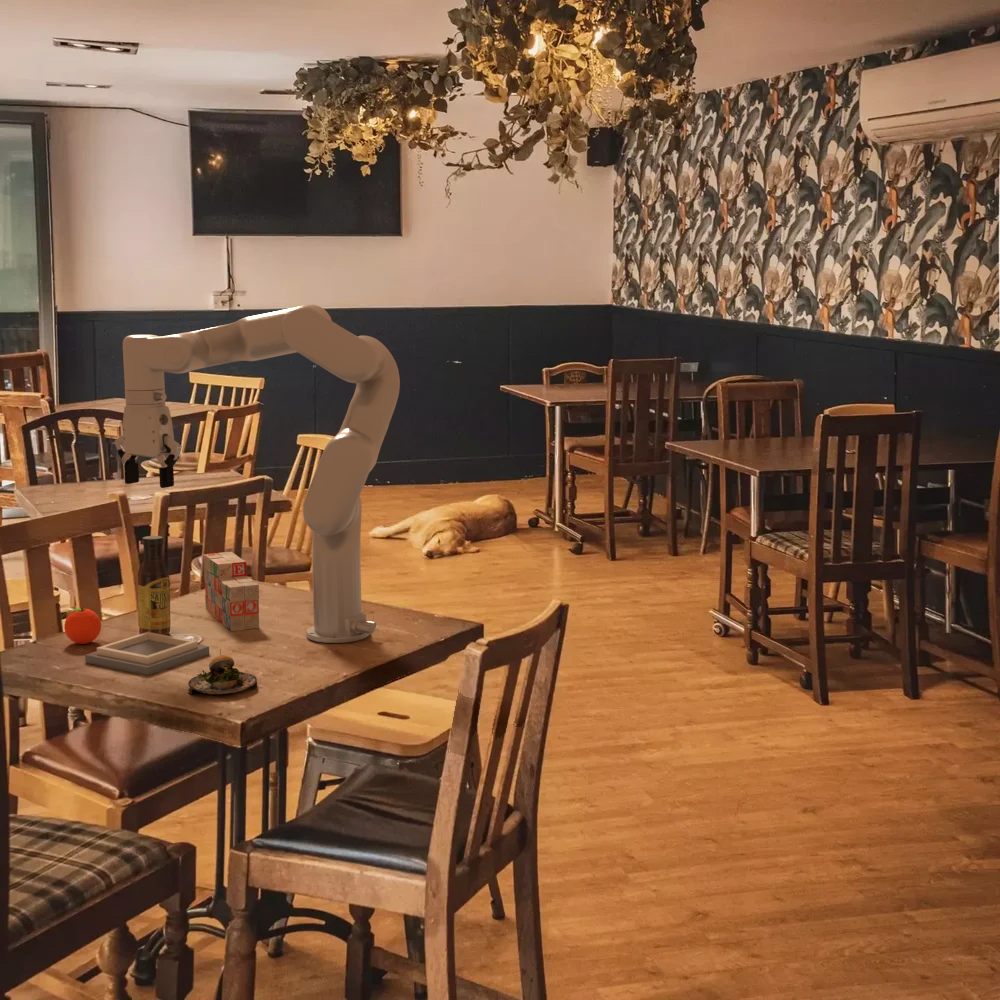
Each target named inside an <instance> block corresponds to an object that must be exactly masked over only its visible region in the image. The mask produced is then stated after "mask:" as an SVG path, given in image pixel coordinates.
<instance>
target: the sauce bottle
mask: <svg viewBox="0 0 1000 1000" xmlns="http://www.w3.org/2000/svg"><path fill="white" fill-rule="evenodd" d="M141 539H142V541H141V542H142V546H143V557H142V558H143V561H142V563H141V565H140V566H139V569H138V570H137V571H138V572H137V614H138V615H137V616H138V617H137V618H138V619H137V620H138V621H137V622H138V628H139V629H138V630H139V631H138V633H139V634H143V633H146V632H151V633H156V634H161V635H167V636H168V635H169V634H170V632H171V581H170V580H171V579H170V578H171V577H170V575H169V572H168V570H167V566H166V564H165V561H164V560H165V559H164V555H163V553H164V552H163V551H164V550H163V549H164V548H163V547H164V544H165V542H164V537H163V536H160V535H149V536H148V535H147V536H143V537H142V538H141ZM139 634H138V635H139Z"/></svg>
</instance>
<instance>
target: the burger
mask: <svg viewBox="0 0 1000 1000" xmlns="http://www.w3.org/2000/svg"><path fill="white" fill-rule="evenodd" d="M219 653H220V654H219V655H217V656H215V657H213V658H212V659H211V661H210V662H209V665H208V667H209V671H208V672H207V671H205V670H203V669H202V673H197V674H196V676H193V677H191V678H190V679H189V680H188V683H187V684H188V687H189V688H188V690H187V693H188V694H189V695H190V696H192V694H193V690H194V691H195V692H199V693H202V694H207V695H226V694H227V695H228V694H235V693H238V692H242V691H244V690H247V689H249V688H250V687H253V686H254V689H256V690H257V689H258V679H257V677H256V676H255V675H254V674H250V673H247V672H243V671H239V669H238V668H236V667H234V666H235V660H234V659H233V657H232V656H229V655H227V654H222V653H221V650H219Z"/></svg>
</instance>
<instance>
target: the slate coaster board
mask: <svg viewBox="0 0 1000 1000" xmlns="http://www.w3.org/2000/svg"><path fill="white" fill-rule="evenodd" d="M198 643H199V642H198V640H193V639H187V638H183V637H177V636H173V635H172V636H171V635H168V634H167V635H161V634H156V633H151V632H146V633H143V634H136V635H134V636H130V637H126V638H124V639H120V640H117V641H114V642H111V643H107V644H105V645H102V646H98V647H96V651H93V652H89V653H86V654H85V655H84V660H85V662H86V664H90V665H91V664H92V665H96V666H99V667H100V666H101V667H105V668H110V669H115V670H119V671H125V672H129V673H132V674H133V673H134V674H138V675H143V676H150V675H153V674H156V673H159V672H162V671H165V670H168V669H171V668H174V667H176V666H180V665H182V664H186V663H189V662H191V661H194V660H196V659H200V658H202V657H204V656H207V655H210V646H209V645H204V644H198ZM85 662H84V663H85Z"/></svg>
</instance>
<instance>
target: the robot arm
mask: <svg viewBox="0 0 1000 1000" xmlns="http://www.w3.org/2000/svg"><path fill="white" fill-rule="evenodd" d="M295 353H296V354H297V353H298V354H300V355H302V356H303V357H305V358H306V359H308V360H309V361H311V362H313V363H314V364H315V365H318V366H319V367H321V368H322V369H324V370H325V371H327V372H329V373H331V375H334V376H336V377H337V378H339V379H341V380H343V381H345V382H347V383H351V384H356V386H355V390H354V394H353V396H352V398H351V400H350V403H349V405H348V408H347V412H346V414H345V417H344V419H343V421H342V424H341V426H340V429H339V430H338V432H337V433H336V435H335V436H334V437H332V439H330V440H329V441H328V443H327V444H326V445H325V447H324V449H323V452H322V453H321V457H320V458H319V460H318V464H317V466H316V469H315V472H314V474H313V476H312V479H311V482H310V484H309V487H308V490H307V491H306V496H305V497H304V500H303V504H302V517H303V519H304V520H303V521H304V523H306V525H307V527H308V528H309V529H310V530H311V531H312V535H311V539H312V540H311V541H312V542H311V544H312V545H311V563H312V569H311V571H312V572H311V573H312V598H313V599H312V601H313V603H312V604H313V605H312V606H313V607H312V608H313V609H312V611H313V625H312V626H310V627H308V628H307V629H306V631H305V635H306V638H307V639H308V640H311V641H313V642H318V643H325V644H342V643H344V644H345V643H351V642H352V643H353V642H357V641H358V642H359V641H361V640H364V639H366V638H367V637H369V636H370V635H371V634H373V633H374V632H375V629H376V628H377V623H376V622H375V621H368V620H367V613H365V612H362V611H363V610H362V571H361V570H362V565H361V564H362V563H361V562H362V561H361V559H362V557H361V554H362V553H361V549H362V548H361V545H362V544H361V533H362V509H363V508H362V500H361V494H362V492H363V489H364V486H365V484H366V481H367V479H368V476H369V474H370V472H371V471H372V470H373V468H374V467H376V464H377V460H378V457H379V453H380V450H381V447H382V445H383V442H384V439H385V436H386V434H387V431H388V429H389V425H390V422H391V420H392V417H393V414H394V412H395V408H396V405H397V403H398V398H399V395H400V389H401V387H400V385H401V383H400V380H401V379H400V374H399V373H400V372H399V368H398V364H397V362H396V360H395V359H394V358H395V357H393V355H392V353H391V352H390V351H389V349H388V348H387V347H386V345H384V344H383V343H382V342H381V341H380V340H378V339H377V338H375V337H372V336H369V335H359V336H357V335H356V334H354V333H352V332H350V331H349V330H347V329H346V328H344V327H342V326H340V325H338V324H337V323H335V322H334V321H332V317H331V316H330V314H329V313H328V312H327V310H325V309H324V308H323V307H322V306H319V305H316V304H305V305H299V306H295V307H289V308H285V309H280V310H276V311H272V312H271V311H269V312H266V313H261V314H256V315H251V316H246V317H243V318H240V319H238V320H236V321H235V322H234V321H233V322H231V323H228V324H224V325H218V326H214V327H209V328H205V329H204V328H203V329H200V330H199V329H198V330H194V331H188V332H181V333H177V334H176V333H175V334H170V335H164V336H159V335H155V334H131V335H127V336H125V337H124V338H123V340H122V356H123V374H124V376H123V377H124V395H125V396H124V397H125V399H124V400H125V405H124V409H123V417H122V435H121V436H119V437H118V438H117V439H115V440H114V445H115V448H116V450H117V454H118V456H119V457H120V460H121V463H122V464H123V469H124V471H123V472H124V484H125V485H131V484H135V483H139V482H140V473H139V472H140V471H139V469H140V468H139V462H138V461H137V459H138V458H139V457H143V458H144V457H146V458H156V460H157V461H158V463H159V465H160V466H161V467H159V468H158V469H159V470H158V473H159V475H158V476H159V487H160V488H161V489H166V488H170V487H174V486H175V475H174V473H175V472H174V471H175V470H174V467H175V466H176V465H177V462H178V460H179V459H180V454H181V451H182V445H181V444H180V443H179V442H177V440H175V437H174V434H175V433H174V429H173V428H174V427H173V426H174V425H173V421H172V416H171V412H170V407H169V405H166V400H167V397H168V396H167V394H166V389H165V388H166V387H165V386H166V385H165V373H167V374H168V373H169V374H170V373H171V374H179V375H180V374H184V373H189V372H192V371H195V370H200V369H205V368H210V367H214V366H219V365H224V364H225V365H226V364H229V363H235V362H242V361H245V362H246V361H247V362H255V361H260V360H265V359H271V358H275V357H279V356H285V355H290V354H295Z"/></svg>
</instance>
